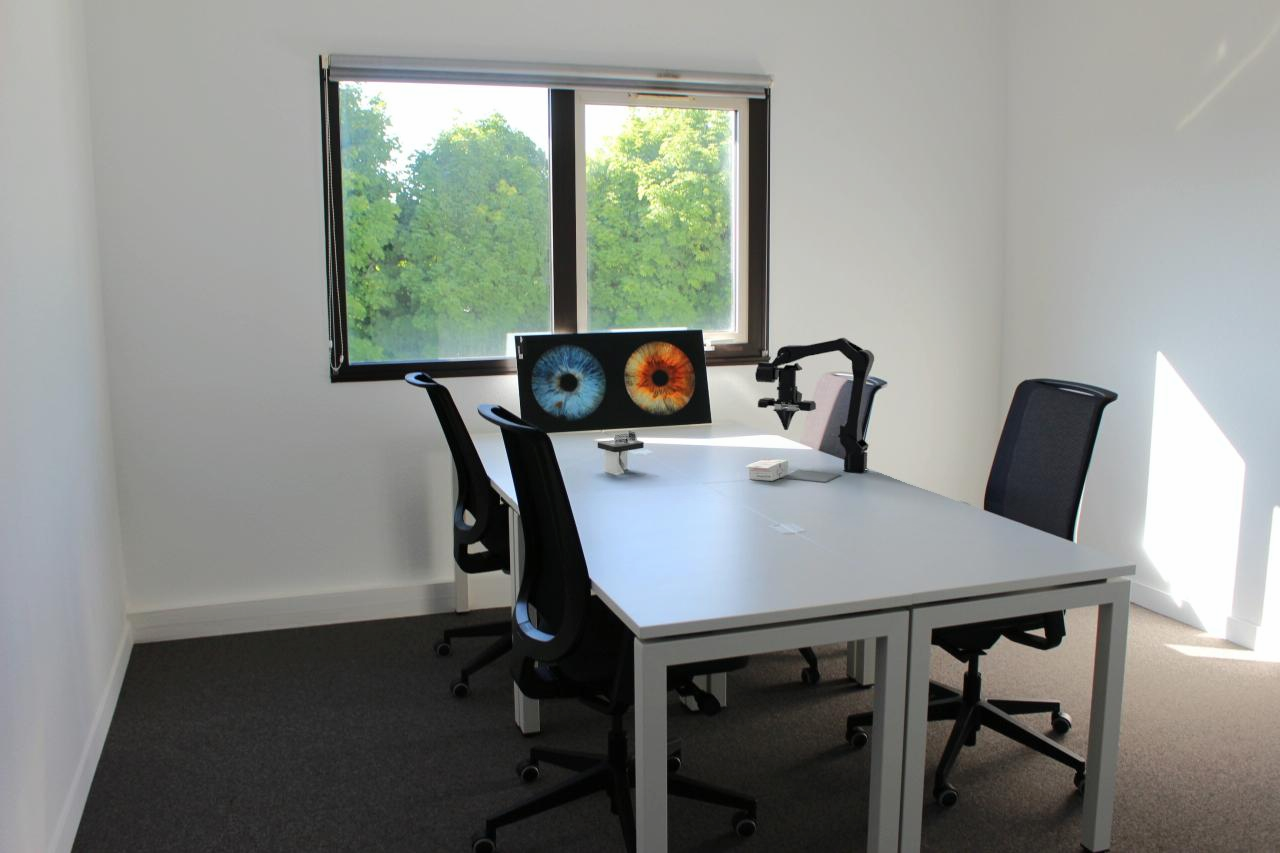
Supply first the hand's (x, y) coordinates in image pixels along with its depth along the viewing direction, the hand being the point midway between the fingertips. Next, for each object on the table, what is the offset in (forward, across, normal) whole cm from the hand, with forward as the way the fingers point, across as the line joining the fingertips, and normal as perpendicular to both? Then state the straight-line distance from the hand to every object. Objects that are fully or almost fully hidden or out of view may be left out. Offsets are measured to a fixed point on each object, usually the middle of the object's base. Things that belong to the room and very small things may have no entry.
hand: (786, 429), depth 364 cm
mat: (+12, -15, +14) cm, 24 cm away
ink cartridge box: (+10, -4, +16) cm, 19 cm away
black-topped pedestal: (+13, +41, +38) cm, 57 cm away
